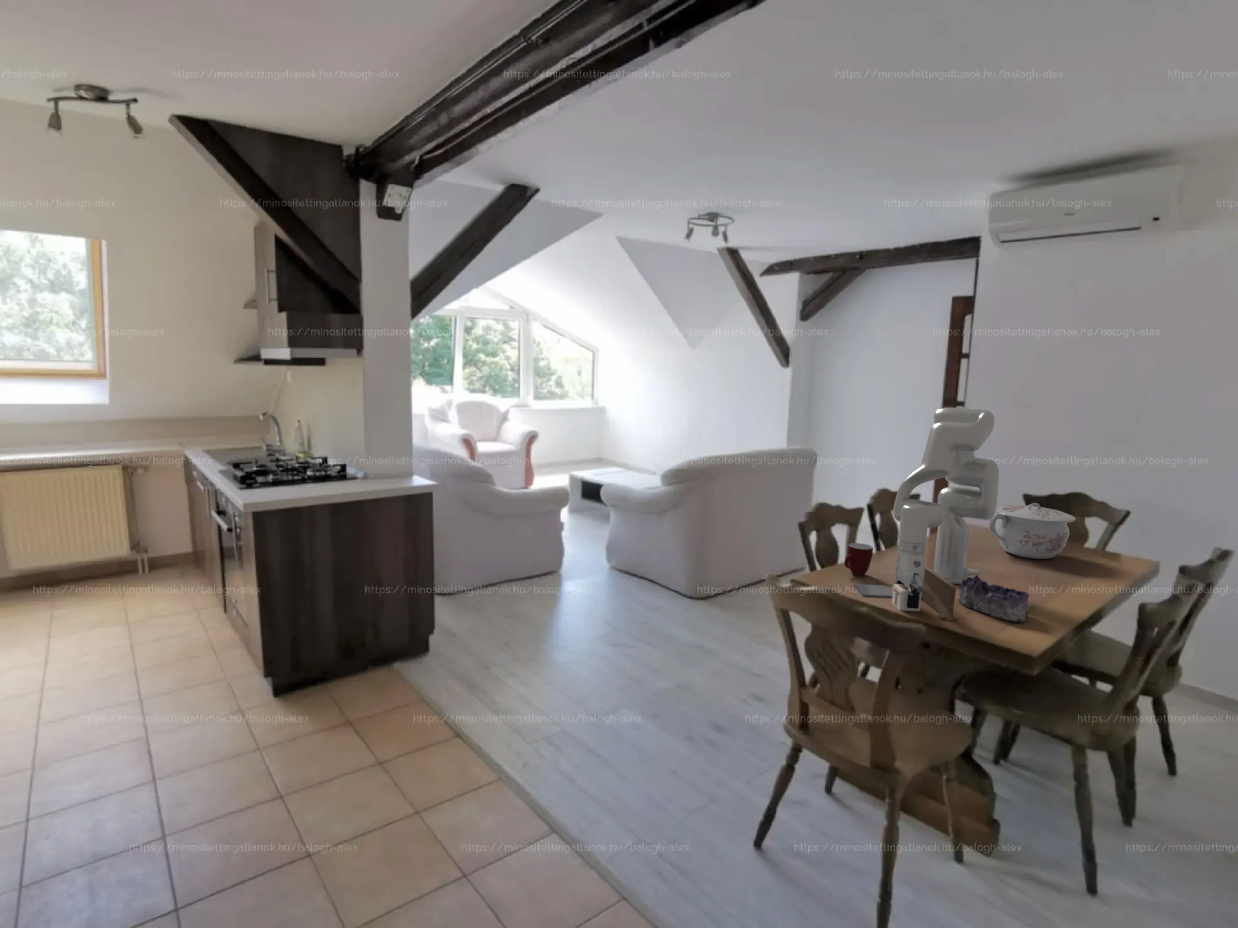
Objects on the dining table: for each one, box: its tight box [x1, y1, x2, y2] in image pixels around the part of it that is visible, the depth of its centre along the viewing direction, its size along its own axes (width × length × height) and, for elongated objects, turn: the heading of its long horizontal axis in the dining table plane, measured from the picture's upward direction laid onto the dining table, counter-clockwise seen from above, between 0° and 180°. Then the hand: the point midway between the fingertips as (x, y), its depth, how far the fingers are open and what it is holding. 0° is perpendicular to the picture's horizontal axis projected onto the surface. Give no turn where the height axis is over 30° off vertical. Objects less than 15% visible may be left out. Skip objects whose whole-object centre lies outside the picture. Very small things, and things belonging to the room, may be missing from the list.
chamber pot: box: [988, 502, 1076, 560], centre depth 262 cm, size 28×28×21 cm
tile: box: [852, 583, 893, 598], centre depth 213 cm, size 10×10×1 cm
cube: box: [891, 583, 922, 612], centre depth 200 cm, size 6×6×6 cm
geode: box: [958, 575, 1030, 624], centre depth 198 cm, size 20×12×10 cm, turn 38°
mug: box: [844, 542, 874, 577], centre depth 230 cm, size 10×8×10 cm
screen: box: [921, 565, 959, 622], centre depth 199 cm, size 5×20×10 cm, turn 178°
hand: (906, 602), depth 200 cm, fingers open, 9 cm apart
